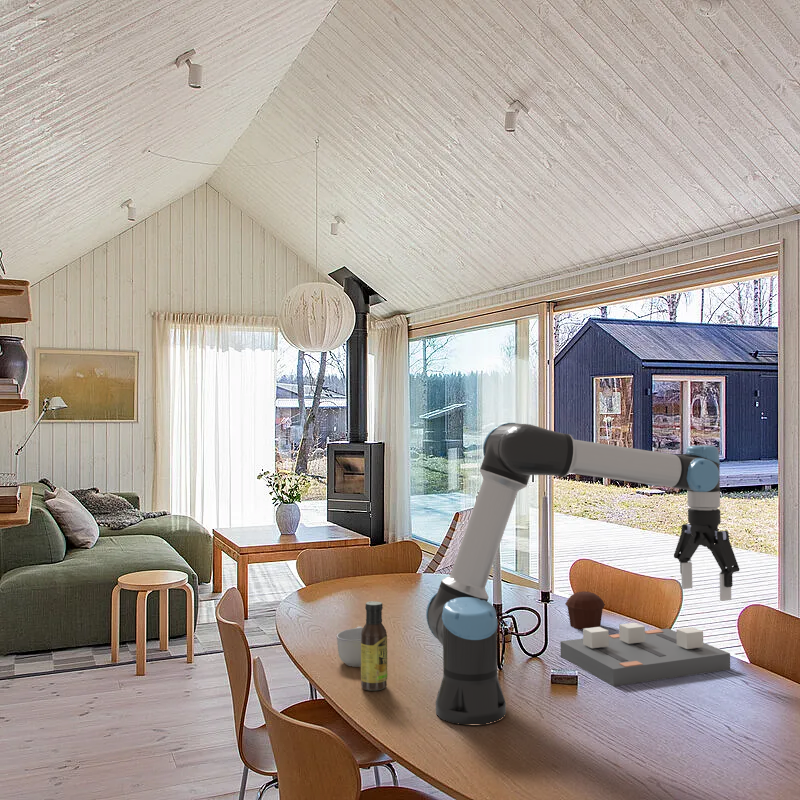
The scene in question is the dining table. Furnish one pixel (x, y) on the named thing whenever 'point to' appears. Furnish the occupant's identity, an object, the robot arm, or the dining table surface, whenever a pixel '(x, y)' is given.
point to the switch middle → (632, 633)
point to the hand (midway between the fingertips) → (705, 594)
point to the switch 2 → (689, 638)
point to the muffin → (585, 610)
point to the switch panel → (644, 658)
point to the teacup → (350, 646)
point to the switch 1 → (595, 637)
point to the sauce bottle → (373, 649)
